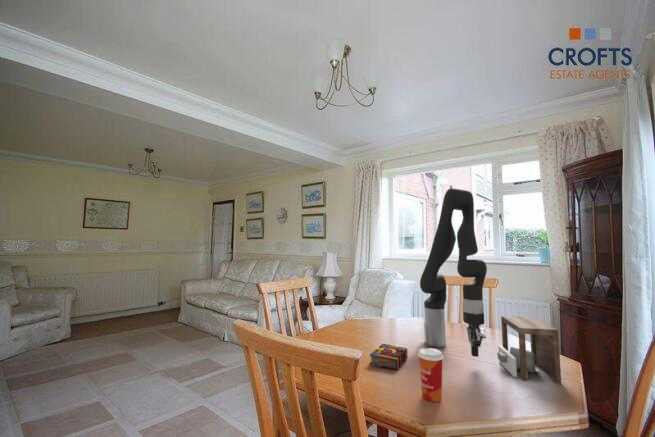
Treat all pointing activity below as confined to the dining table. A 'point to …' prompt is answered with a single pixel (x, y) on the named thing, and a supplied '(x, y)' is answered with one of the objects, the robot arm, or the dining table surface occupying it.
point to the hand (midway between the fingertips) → (474, 355)
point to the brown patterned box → (388, 357)
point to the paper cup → (431, 373)
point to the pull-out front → (507, 360)
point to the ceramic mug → (529, 359)
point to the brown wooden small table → (535, 344)
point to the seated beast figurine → (482, 332)
